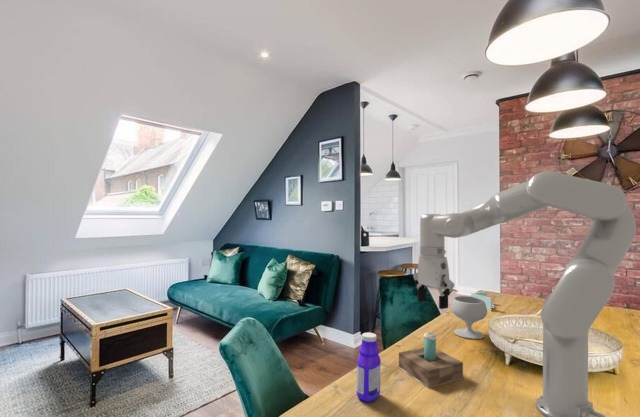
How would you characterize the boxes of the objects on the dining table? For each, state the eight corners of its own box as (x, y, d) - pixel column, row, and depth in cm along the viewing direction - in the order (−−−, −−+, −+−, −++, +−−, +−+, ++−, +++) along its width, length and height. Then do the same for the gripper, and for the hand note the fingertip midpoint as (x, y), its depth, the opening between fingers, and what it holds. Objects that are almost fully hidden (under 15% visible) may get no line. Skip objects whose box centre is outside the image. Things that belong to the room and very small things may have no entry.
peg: (438, 373, 108) (438, 336, 108) (429, 375, 106) (429, 337, 106) (430, 368, 111) (430, 332, 111) (421, 370, 109) (421, 333, 110)
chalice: (464, 326, 153) (464, 294, 153) (493, 336, 141) (494, 301, 141) (444, 332, 145) (444, 298, 146) (474, 343, 134) (474, 305, 134)
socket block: (463, 378, 105) (463, 362, 105) (428, 388, 99) (428, 371, 99) (431, 359, 118) (431, 345, 118) (397, 367, 112) (398, 352, 112)
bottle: (366, 388, 99) (367, 329, 99) (383, 394, 95) (384, 333, 95) (352, 398, 93) (353, 335, 93) (370, 406, 90) (371, 341, 90)
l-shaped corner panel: (490, 312, 178) (490, 298, 178) (471, 306, 188) (471, 293, 188) (504, 309, 183) (504, 295, 184) (484, 304, 194) (485, 291, 194)
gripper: (462, 254, 102) (462, 310, 102) (422, 248, 118) (422, 297, 118) (443, 255, 99) (443, 313, 99) (405, 249, 115) (405, 299, 115)
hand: (432, 304), depth 109 cm, fingers open, 9 cm apart
